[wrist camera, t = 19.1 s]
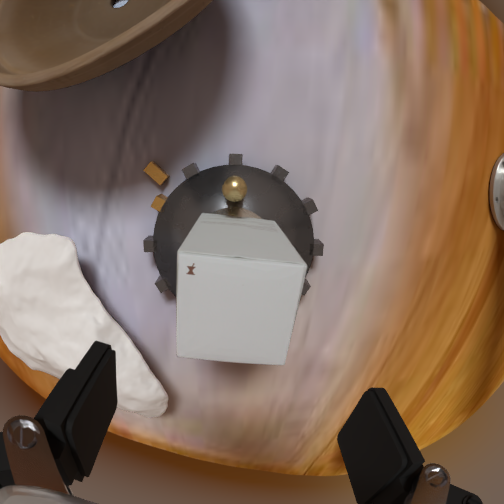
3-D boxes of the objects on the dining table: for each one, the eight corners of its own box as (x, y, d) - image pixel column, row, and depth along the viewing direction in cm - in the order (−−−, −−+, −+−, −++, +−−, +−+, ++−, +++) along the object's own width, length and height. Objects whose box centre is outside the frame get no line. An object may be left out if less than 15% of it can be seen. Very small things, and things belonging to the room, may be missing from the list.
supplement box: (194, 283, 30) (171, 358, 18) (201, 210, 28) (174, 246, 16) (266, 291, 31) (285, 369, 18) (278, 220, 28) (310, 262, 16)
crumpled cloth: (0, 165, 26) (-51, 183, 18) (225, 320, 33) (213, 380, 24) (-15, 291, 34) (-47, 319, 26) (151, 409, 41) (135, 454, 33)
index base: (266, 239, 32) (267, 241, 31) (234, 272, 33) (234, 275, 32) (165, 147, 29) (162, 147, 28) (135, 183, 30) (132, 184, 29)
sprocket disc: (324, 160, 29) (344, 159, 23) (309, 319, 34) (322, 347, 28) (147, 155, 28) (127, 154, 22) (155, 316, 33) (141, 344, 27)
